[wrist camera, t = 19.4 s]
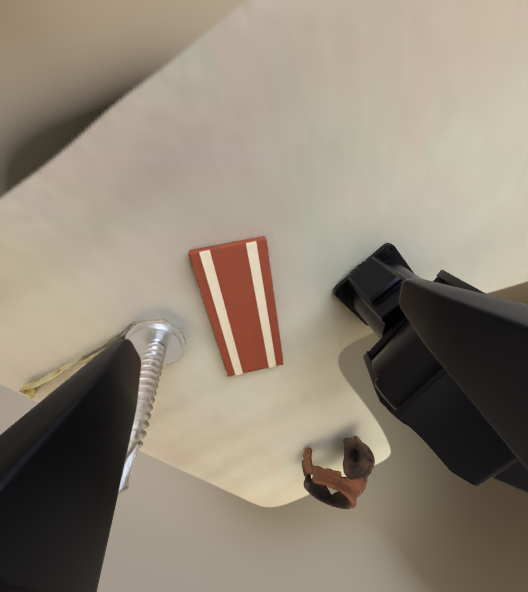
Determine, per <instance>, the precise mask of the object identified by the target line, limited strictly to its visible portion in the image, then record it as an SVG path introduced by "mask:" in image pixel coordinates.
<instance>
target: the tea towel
mask: <svg viewBox="0 0 528 592" xmlns="http://www.w3.org/2000/svg"><path fill="white" fill-rule="evenodd" d="M189 256H190V259H191V263H192V266H193V269H194V272H195V275H196V278H197V281H198V284H199V288H200V291H201V294H202V297H203V300H204V303H205V306H206V309H207V313H208V316H209V319H210V322H211V325H212V328H213V331H214V334H215V338H216V341H217V344H218V347H219V350H220V353H221V356H222V359H223V363H224V366H225V369H226V372H227V375H228V376H233V375H235V376H236V375H240V374H243V373H246V372H251V371H255V370H260V369H264V368H272V367H276V366H278V365H282V364H283V357H282V350H281V343H280V336H279V328H278V321H277V314H276V307H275V299H274V292H273V285H272V278H271V271H270V263H269V256H268V249H267V242H266V238H265V236H263V237H257V238H252V239H247V240H242V241H236V242H231V243H226V244H221V245H215V246H210V247H205V248H200V249H194V250H190V252H189Z"/></svg>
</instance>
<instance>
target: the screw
mask: <svg viewBox="0 0 528 592" xmlns="http://www.w3.org/2000/svg"><path fill="white" fill-rule="evenodd" d="M125 339H129V340H130V341H131V342H132V343H133V345H134V347H135V349H136V351H137V352H138V354H139V356H140V358H141V372H140V382H139V392H138V402H137V409H136V414H135V419H134V424H133V428H132V433H131V437H130V442H129V446H128V451H127V456H126V460H125V465H124V469H123V474H122V478H121V483H120V487H119V492H118V494H120V493H122V492H124V491H126V490H127V489H128V486H129V482H130V478H131V474H132V470H133V466H134V462H135V458H136V454H137V450H138V449H139V448H140V447H142V445H143V443H142V441H141V439H143V438H144V437H145V436H146V431H145V429H146V428H148V426H149V423H148V420H149V419H150V418H151V414H150V413H149V412H151V411H152V409H153V406H152V404H153V403H154V401H155V399H154V396H155V395H156V389H157V388H158V384H157V383H158V382H159V377H160V375H161V370H162V366H165V365H169V364H172V363H174V362H175V361H177V360H178V359H179V358H181V356H182V355H183V353H184V351H185V344H186V342H185V338H184V336H183V334H182V333H181V332H180V330H179V329H177V328H176V327H175V326H173V325H171V324H169V323H168V322H167V321H166V320H165V319H161V320H154V321H145V322H141V323H139V324H137V325H135V326H133V327H132V328H131V329H130V330H129V331H128V333H127V335H126V337H125Z"/></svg>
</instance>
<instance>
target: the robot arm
mask: <svg viewBox="0 0 528 592" xmlns="http://www.w3.org/2000/svg"><path fill="white" fill-rule="evenodd" d="M387 248H389V250H387ZM386 250H387V251H386ZM437 276H438V277H437V278H436V279H435V280H434V281H433V282H432V281H428V280H424V279H421V278H420V277H418V276H417V275H415V274H414V273H413V271H412V270H411V269H410V267H409V266H408V264H407V263H406V262H405V260H404V259H403V258H402V256H401V255H400V253H399V252H398V251H397V249H396V248H395V247H394V245H392V244H390V243H386V244H384V245H383V246H382V247H381V248H380V249H378V250H377V251H376V252H375V253H374V254H373V255H371V256H370V257H369V258H368V259H367V260H366V261H365V262H363V263H362V264H361V265H360V266H359V267H358V268H356V269H355V270H354V271H353V272H352V273H351V274H350V275H348V276H347V277H346V278H345V279H344V280H343V281H341V282H340V283H339V284H338V285H337V286H336V287H335V288H334V289H333V293H334V294H335V296H336V297H337V298H339V299H340V300H341V301H342V302H343V303H344V304H345V305H346V306H347V307H348V308H349V309H350V310H351V311H352V312H353V313H354V314H355V315H356V316H357V317H358V318H359V319H360V320H361V321H362V322H363V323H365V324H366V325H369V326H370V327H371V329H372V330H373V331H374V332H375V334H376V335H377V336H378V337H379V338H380V340H379V341H378V342H377V343H376V344H375V346H374V347H373V348H372V349H371V350H370V351H367V353H366V354H365V355H364V356H363V357H364V360H365V363H366V366H367V369H368V371H369V374H370V377H371V380H372V383H373V386H374V388H375V391H376V393H377V395H378V398H379V400H380V402H381V403H382V404H383V405H384V406H385V407H386V408H387V409H388V410H389V411H390V412H391V413H392V414H393V415H394V416H395V417H396V418H397V419H399V420H400V421H402V422H403V423H404V424H406V425H408V426H409V427H411V428H412V429H413V430H414V431H415V432H416V433H417V434H418V435H419V436H420V437H421V438H422V439H423V440H424V441H425V442H426V443H427V444H428V445H429V447H430V448H431V449H432V450H433V451H434V452H435V453H436V455H437V456H438V457H439V458H440V459H441V460H442V461H443V463H444V464H445V465H446V466H447V467H448V469H449V470H450V471H451V472H453V473H454V474H456V475H458V476H459V477H461V478H463V479H464V480H466V481H468V482H469V483H471V484H473V485H476V486H479V485H481V484H482V483H484V482H486V481H487V480H489V479H494V480H496V481H498V482H501V483H503V484H506V485H508V486H510V487H513V488H515V489H517V490H520V491H522V492H524V493H527V494H528V304H523V303H519V302H515V301H511V300H507V299H503V298H499V297H494V296H490V295H487V294H485V293H483V292H482V291H480V290H478V289H476V288H474V287H473V286H471V285H469V284H467V283H465V282H464V281H462V280H460V279H458V278H456V277H454V276H453V275H451V274H449V273H447V272H445V271H444V270H441V271H440V272H439V273H438V274H437ZM338 290H340V292H338ZM140 372H141V358H140V356H139V354H138V352H137V351H136V349H135V347H134V345H133V343H132V342H131V341H130V340H129V339H122V340H117V341H114V342H113V343H111V344H110V345H109V346H108V347H107V348H105V349H104V350H103V351H102V352H100V353H99V354H98V355H97V356H96V357H94V358H93V359H92V360H91V361H90V362H88V363H87V364H86V365H85V366H83V367H82V368H81V369H80V370H79V371H77V372H76V373H75V374H74V375H73V376H71V377H70V378H69V379H68V380H66V381H65V382H64V383H63V384H62V385H60V386H59V387H58V388H57V389H56V390H54V391H53V392H52V393H51V394H50V395H48V396H47V397H46V398H45V399H43V400H42V401H41V402H40V403H39V404H37V405H36V406H35V407H34V408H33V409H31V410H30V411H29V412H28V413H26V414H25V415H24V416H23V417H22V418H20V419H19V420H18V421H17V422H16V423H14V424H13V425H12V426H11V427H10V428H8V429H7V430H6V431H5V432H4V433H2V434H1V435H0V592H97V588H98V583H99V578H100V574H101V569H102V565H103V560H104V556H105V551H106V546H107V541H108V537H109V533H110V528H111V524H112V519H113V515H114V510H115V505H116V501H117V497H118V492H119V487H120V483H121V478H122V474H123V469H124V465H125V460H126V456H127V451H128V446H129V442H130V437H131V433H132V428H133V424H134V419H135V414H136V409H137V402H138V392H139V382H140Z"/></svg>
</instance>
